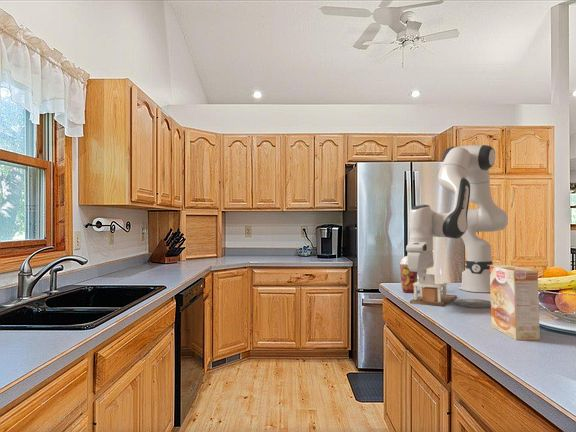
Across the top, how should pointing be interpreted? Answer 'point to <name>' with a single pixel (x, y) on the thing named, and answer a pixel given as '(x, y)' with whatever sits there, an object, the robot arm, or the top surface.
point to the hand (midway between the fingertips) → (422, 280)
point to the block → (430, 294)
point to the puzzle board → (442, 303)
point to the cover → (430, 283)
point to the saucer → (473, 303)
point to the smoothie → (407, 276)
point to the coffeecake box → (515, 301)
